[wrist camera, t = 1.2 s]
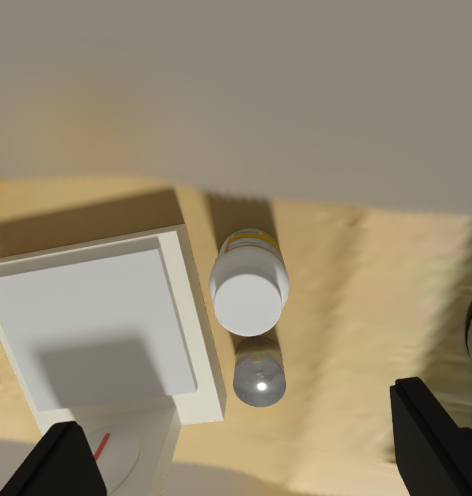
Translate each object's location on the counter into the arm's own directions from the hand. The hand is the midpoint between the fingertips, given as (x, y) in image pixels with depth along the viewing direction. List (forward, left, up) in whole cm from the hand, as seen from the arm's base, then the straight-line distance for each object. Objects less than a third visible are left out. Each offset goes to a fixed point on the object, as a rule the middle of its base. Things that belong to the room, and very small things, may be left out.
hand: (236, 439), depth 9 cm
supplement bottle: (0, 0, -19) cm, 19 cm away
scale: (+14, +5, -18) cm, 24 cm away
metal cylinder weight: (+1, +10, -18) cm, 21 cm away
